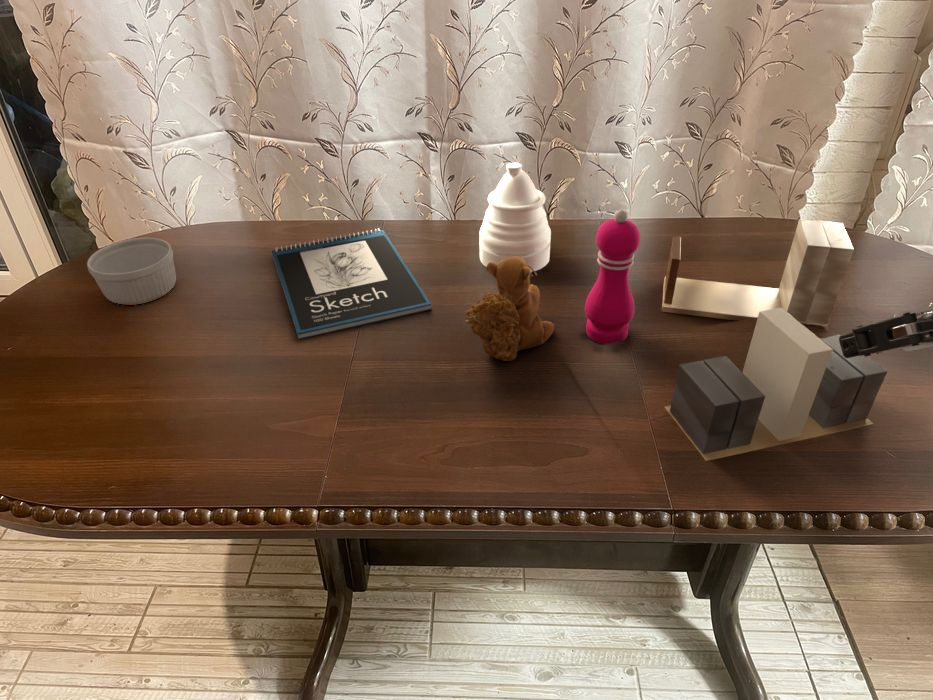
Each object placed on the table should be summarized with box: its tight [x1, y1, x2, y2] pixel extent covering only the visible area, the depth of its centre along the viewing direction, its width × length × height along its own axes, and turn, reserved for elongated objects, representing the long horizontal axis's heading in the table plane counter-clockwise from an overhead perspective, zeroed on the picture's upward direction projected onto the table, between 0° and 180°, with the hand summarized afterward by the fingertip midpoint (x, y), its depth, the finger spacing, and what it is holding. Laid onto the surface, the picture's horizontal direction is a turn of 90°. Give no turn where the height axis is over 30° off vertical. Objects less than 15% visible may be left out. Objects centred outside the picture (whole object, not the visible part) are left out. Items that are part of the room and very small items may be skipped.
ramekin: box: [86, 237, 177, 305], centre depth 111 cm, size 13×13×7 cm
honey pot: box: [478, 161, 552, 273], centre depth 115 cm, size 13×13×18 cm
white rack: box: [661, 218, 855, 330], centre depth 101 cm, size 24×10×14 cm, turn 74°
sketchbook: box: [271, 227, 433, 340], centre depth 114 cm, size 22×30×2 cm
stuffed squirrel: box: [464, 256, 555, 362], centre depth 94 cm, size 10×14×13 cm
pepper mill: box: [584, 209, 641, 345], centre depth 94 cm, size 7×7×20 cm
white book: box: [741, 308, 833, 441], centre depth 78 cm, size 3×9×13 cm, turn 14°
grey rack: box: [664, 334, 888, 462], centre depth 80 cm, size 23×10×8 cm, turn 104°
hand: (881, 339), depth 63 cm, fingers open, 8 cm apart
